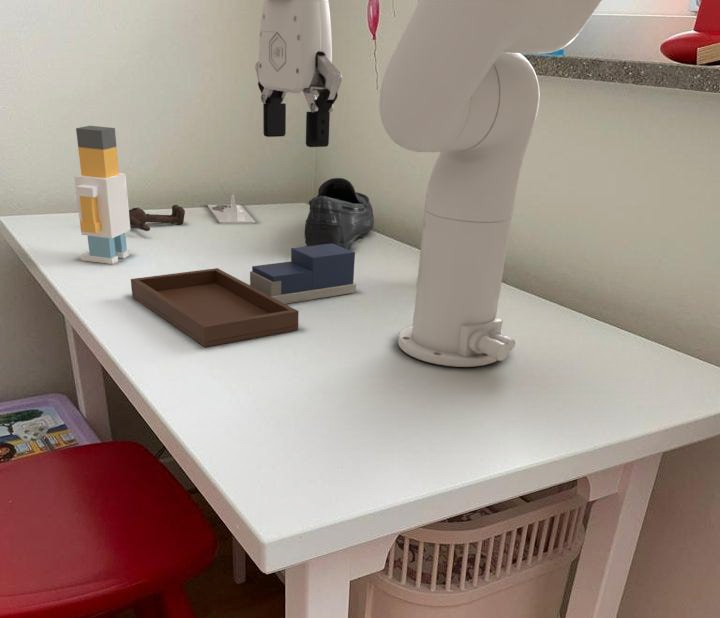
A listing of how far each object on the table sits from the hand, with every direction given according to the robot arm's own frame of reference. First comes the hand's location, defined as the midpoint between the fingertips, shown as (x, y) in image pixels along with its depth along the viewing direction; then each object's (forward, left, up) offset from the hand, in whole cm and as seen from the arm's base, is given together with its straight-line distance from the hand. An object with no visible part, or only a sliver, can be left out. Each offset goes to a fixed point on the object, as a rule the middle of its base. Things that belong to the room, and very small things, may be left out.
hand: (295, 141), depth 101 cm
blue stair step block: (-4, +1, -19) cm, 19 cm away
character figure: (+24, +18, -19) cm, 36 cm away
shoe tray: (-6, +16, -19) cm, 25 cm away
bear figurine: (+41, +5, -19) cm, 46 cm away
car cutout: (+44, -14, -19) cm, 50 cm away
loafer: (+20, -23, -19) cm, 36 cm away
